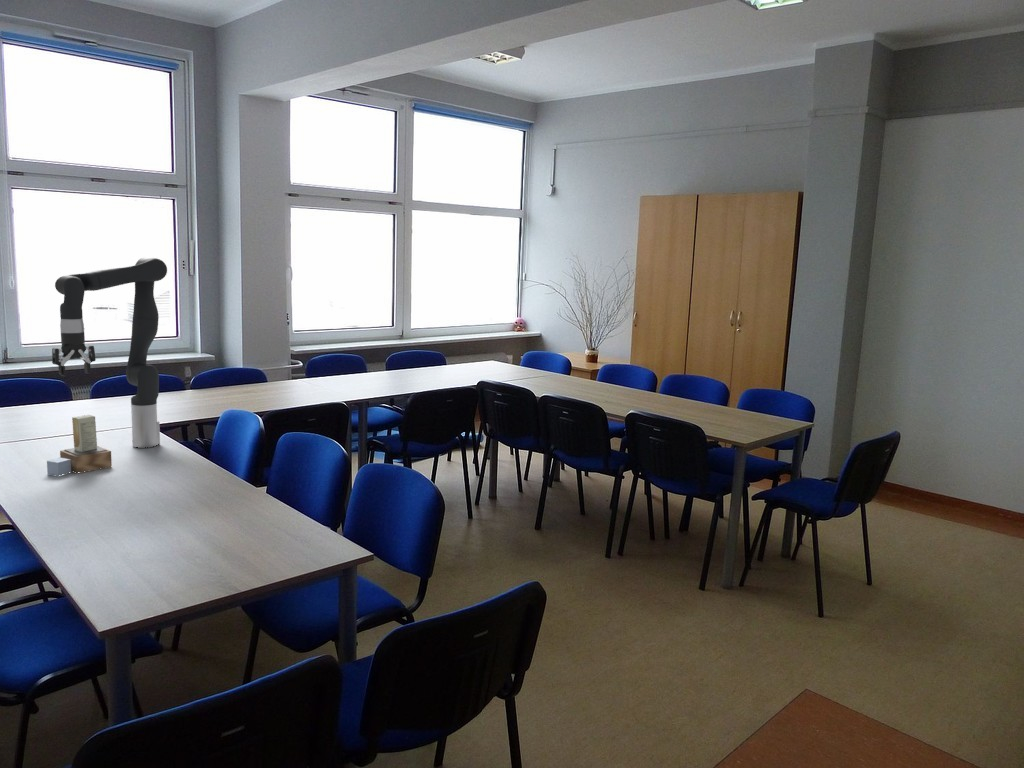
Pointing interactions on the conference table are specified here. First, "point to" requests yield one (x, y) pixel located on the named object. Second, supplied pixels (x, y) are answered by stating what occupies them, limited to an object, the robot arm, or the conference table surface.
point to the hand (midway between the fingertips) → (75, 374)
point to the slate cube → (58, 466)
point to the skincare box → (84, 433)
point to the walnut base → (87, 459)
